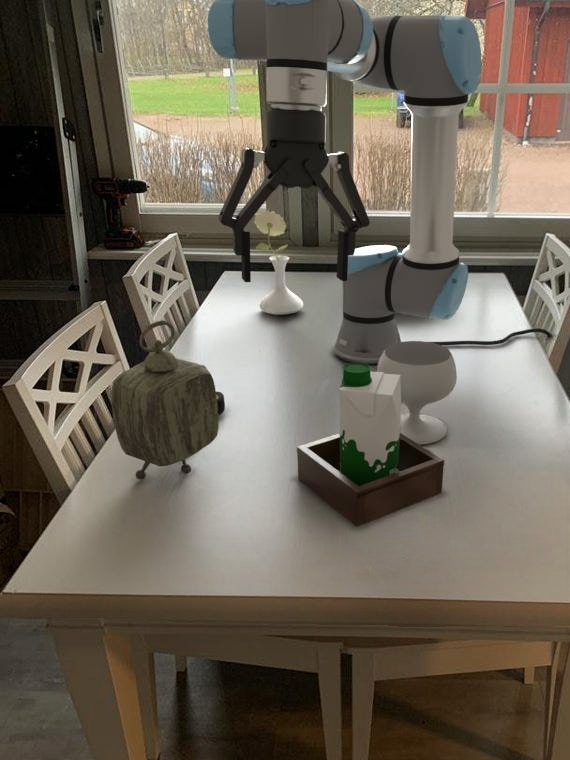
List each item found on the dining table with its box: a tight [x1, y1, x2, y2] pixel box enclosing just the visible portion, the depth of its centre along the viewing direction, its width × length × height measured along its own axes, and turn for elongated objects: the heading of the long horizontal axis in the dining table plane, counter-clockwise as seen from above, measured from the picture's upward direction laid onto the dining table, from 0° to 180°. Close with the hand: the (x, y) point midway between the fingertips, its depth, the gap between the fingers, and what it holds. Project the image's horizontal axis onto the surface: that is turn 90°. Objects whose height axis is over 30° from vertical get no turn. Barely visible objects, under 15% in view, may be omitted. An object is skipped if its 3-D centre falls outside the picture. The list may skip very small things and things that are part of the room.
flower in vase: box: [253, 209, 304, 316], centre depth 184 cm, size 13×11×25 cm
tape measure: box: [216, 391, 226, 417], centre depth 137 cm, size 7×7×4 cm
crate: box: [296, 432, 445, 528], centre depth 114 cm, size 16×16×6 cm
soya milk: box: [338, 362, 402, 486], centre depth 111 cm, size 9×9×20 cm
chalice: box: [376, 340, 458, 445], centre depth 129 cm, size 14×14×15 cm
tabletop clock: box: [110, 320, 219, 481], centre depth 113 cm, size 14×9×25 cm, turn 149°
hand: (294, 279), depth 101 cm, fingers open, 13 cm apart
